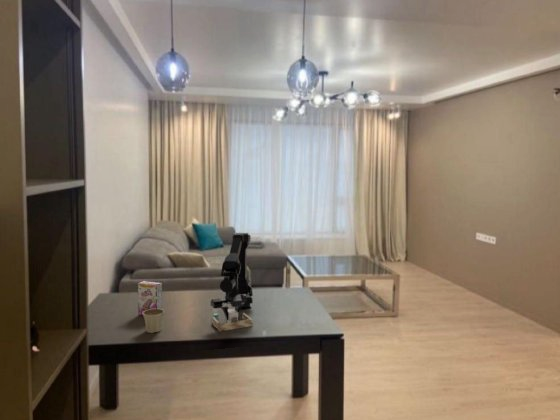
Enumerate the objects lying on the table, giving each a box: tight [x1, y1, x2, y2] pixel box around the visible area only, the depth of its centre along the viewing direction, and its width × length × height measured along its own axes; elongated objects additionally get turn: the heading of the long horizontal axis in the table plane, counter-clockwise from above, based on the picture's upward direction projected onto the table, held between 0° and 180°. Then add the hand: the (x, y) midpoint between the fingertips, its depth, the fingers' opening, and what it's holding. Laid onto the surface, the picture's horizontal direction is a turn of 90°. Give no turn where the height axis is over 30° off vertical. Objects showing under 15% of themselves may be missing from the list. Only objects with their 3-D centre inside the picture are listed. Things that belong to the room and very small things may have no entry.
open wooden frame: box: [211, 312, 253, 332], centre depth 200 cm, size 16×10×3 cm, turn 116°
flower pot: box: [142, 308, 165, 334], centre depth 192 cm, size 9×9×9 cm
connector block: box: [225, 308, 239, 323], centre depth 199 cm, size 4×7×5 cm, turn 26°
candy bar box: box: [137, 280, 163, 317], centre depth 213 cm, size 11×5×16 cm, turn 71°
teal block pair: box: [212, 313, 219, 320], centre depth 208 cm, size 12×2×3 cm, turn 116°
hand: (231, 319), depth 200 cm, fingers closed on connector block, 4 cm apart
